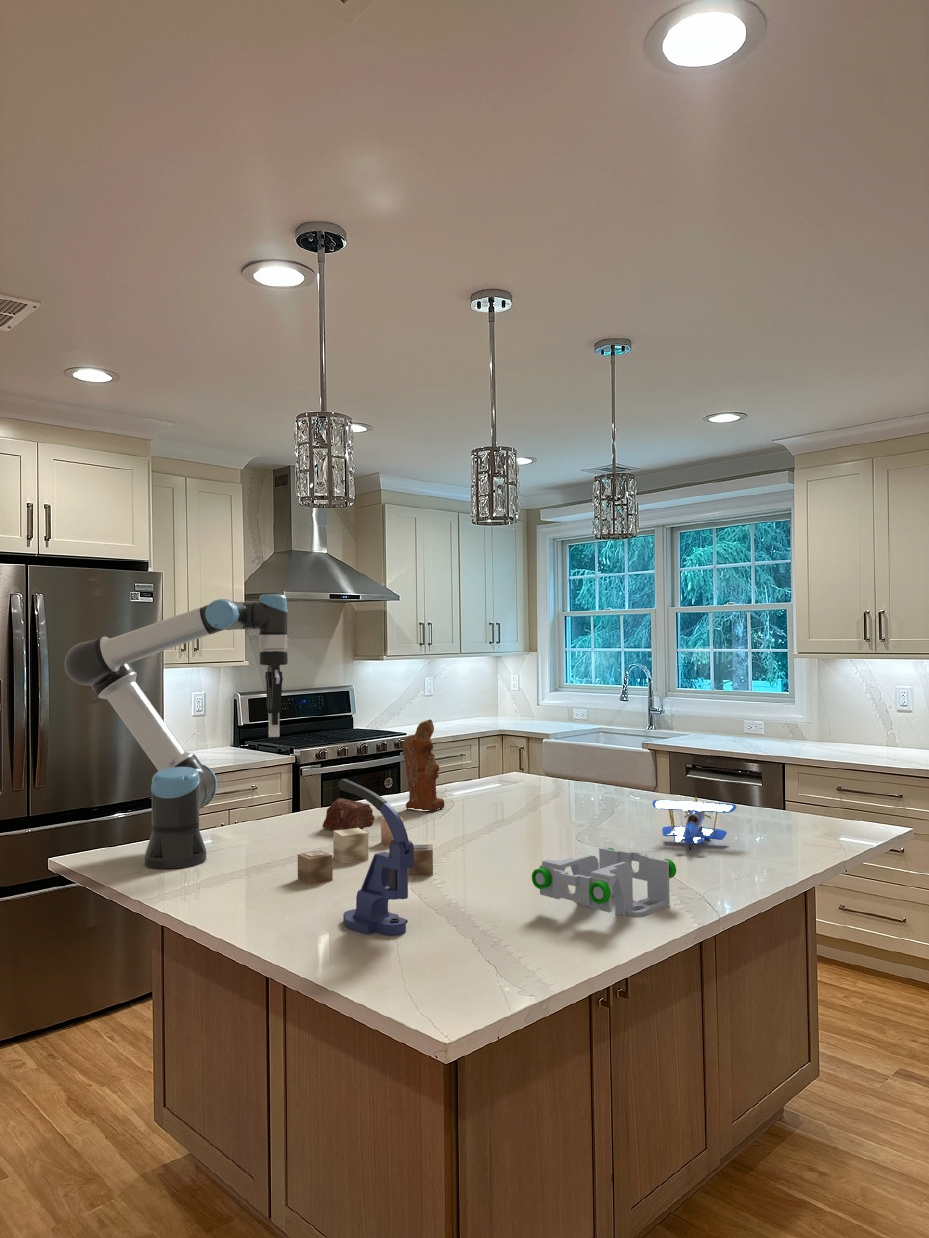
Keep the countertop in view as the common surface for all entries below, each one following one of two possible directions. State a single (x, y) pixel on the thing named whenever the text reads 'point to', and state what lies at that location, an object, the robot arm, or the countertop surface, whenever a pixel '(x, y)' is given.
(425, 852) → the walnut block
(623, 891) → the bracket
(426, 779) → the sculpture
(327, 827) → the rock
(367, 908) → the hand press
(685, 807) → the airplane toy
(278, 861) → the countertop surface
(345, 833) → the maple block
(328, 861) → the walnut block
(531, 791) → the countertop surface
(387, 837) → the peach rounded cylinder
